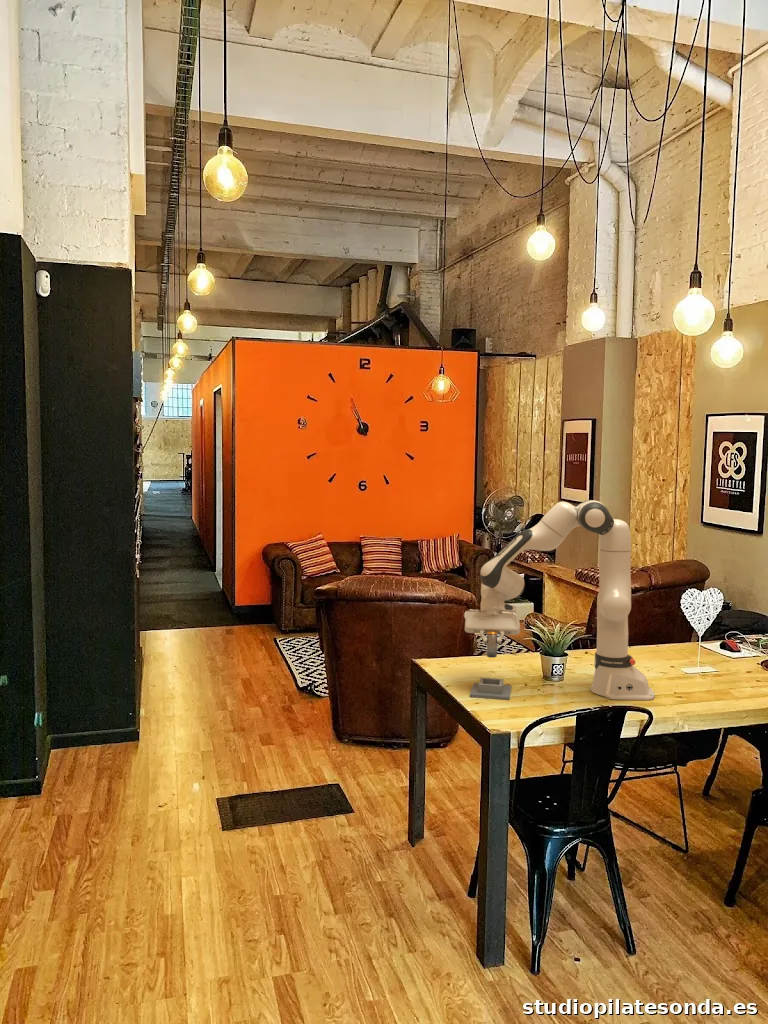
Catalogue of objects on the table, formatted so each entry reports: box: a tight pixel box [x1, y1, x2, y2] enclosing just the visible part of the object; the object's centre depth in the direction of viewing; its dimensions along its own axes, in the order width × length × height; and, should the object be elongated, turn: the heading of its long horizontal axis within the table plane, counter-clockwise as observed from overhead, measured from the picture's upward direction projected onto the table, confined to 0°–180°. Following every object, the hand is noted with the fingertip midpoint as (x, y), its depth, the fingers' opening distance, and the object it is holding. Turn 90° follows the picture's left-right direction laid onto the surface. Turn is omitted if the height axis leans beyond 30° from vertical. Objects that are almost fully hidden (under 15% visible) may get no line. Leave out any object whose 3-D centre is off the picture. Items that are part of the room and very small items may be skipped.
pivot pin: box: [486, 631, 498, 659], centre depth 282 cm, size 4×4×9 cm
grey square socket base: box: [469, 677, 512, 701], centre depth 283 cm, size 14×14×4 cm
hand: (492, 642), depth 281 cm, fingers closed on pivot pin, 4 cm apart
